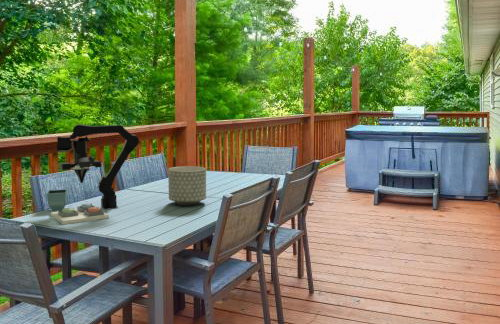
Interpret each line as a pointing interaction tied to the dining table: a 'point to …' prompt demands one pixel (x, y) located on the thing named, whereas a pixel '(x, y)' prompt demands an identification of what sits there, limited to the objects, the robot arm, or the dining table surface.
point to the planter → (187, 184)
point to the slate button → (86, 205)
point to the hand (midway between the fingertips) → (81, 182)
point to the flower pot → (57, 199)
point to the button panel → (79, 216)
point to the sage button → (67, 210)
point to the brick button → (93, 209)
